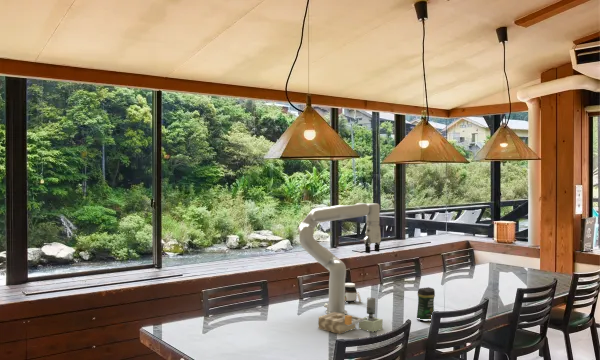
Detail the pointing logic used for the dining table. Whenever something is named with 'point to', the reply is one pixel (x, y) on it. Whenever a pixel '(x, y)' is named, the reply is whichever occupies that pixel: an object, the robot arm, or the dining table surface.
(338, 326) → the socket block
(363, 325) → the pale green square tray
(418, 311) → the coffee jar
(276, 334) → the dining table surface
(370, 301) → the peg
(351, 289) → the spread jar
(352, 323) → the locking fork
